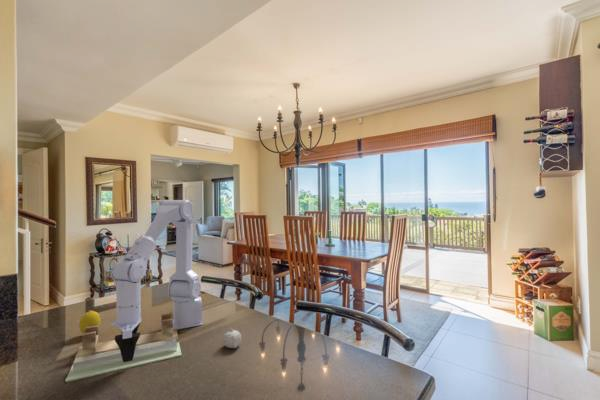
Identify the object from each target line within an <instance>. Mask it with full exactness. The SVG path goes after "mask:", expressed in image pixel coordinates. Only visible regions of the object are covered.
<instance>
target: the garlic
mask: <svg viewBox="0 0 600 400" xmlns="http://www.w3.org/2000/svg"><path fill="white" fill-rule="evenodd" d="M241 342H242V334H241V333H240V332H239V331H238V330H236V329H233V327H229V328H228V331H227V332H225V334H224V335H223V337H222V343H223V344H224V346H225V347H226V348H228V349H236V348H237V347H238V346H239V345H240V344H241Z"/></svg>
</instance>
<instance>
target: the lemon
mask: <svg viewBox="0 0 600 400" xmlns="http://www.w3.org/2000/svg"><path fill="white" fill-rule="evenodd" d="M96 325H98V329H100V326H101V316H100V314H99V313H98V312H97V311H95V310H92V309H91V310H88V311H87V312H85V313H84V314H83V315H82V316H81V317H80V320H79V325H78V327H79V330H80V332H82V334H83V333H85V328H86V327H90V326H96Z"/></svg>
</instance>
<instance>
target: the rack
mask: <svg viewBox="0 0 600 400" xmlns="http://www.w3.org/2000/svg"><path fill="white" fill-rule="evenodd" d="M160 316H161V322H160V323H161V331H155V332H152V333H145V334H140V337H139V339H138V341H137V343H136V346H139V345H144V344H149V343H154V342H159V341H164V340H169V339H174V338H176V340H179V334H178V329H173V314H172V313H166V314H161V315H160ZM81 345H82V346H79V348H78V350H77V352H76V354H75V358H78V357H83V356H88V355H93V354H99V353H104V352H109V351H114V350H119V349H120V348H119V346H118V345H117V343H116V342H115V339H114V340H107V341H103V342H99V328H98V325H96V326H90V327H86V328H85V333H82V335H81ZM75 358H74V359H75Z"/></svg>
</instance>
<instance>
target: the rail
mask: <svg viewBox="0 0 600 400" xmlns="http://www.w3.org/2000/svg"><path fill="white" fill-rule="evenodd" d="M177 340H178V339H177ZM177 340H176V338H174V339H169V340H164V341H159V342H154V343H149V344H144V345H139V346H135V351H134V357H133V360H137V359H142V358H146V357H151V356H156V355H160V354H165V353H169V352H174V351H177V342H178V341H177ZM133 360H132V361H133ZM119 363H124V362H123V360H122V356H121V351H120V349H119V350H114V351H109V352H104V353H99V354H93V355H88V356H83V357H78V358H74V361H73V362H72V365H73V373H78V372H82V371H87V370H91V369H96V368H101V367H105V366H110V365H114V364H119Z"/></svg>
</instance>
